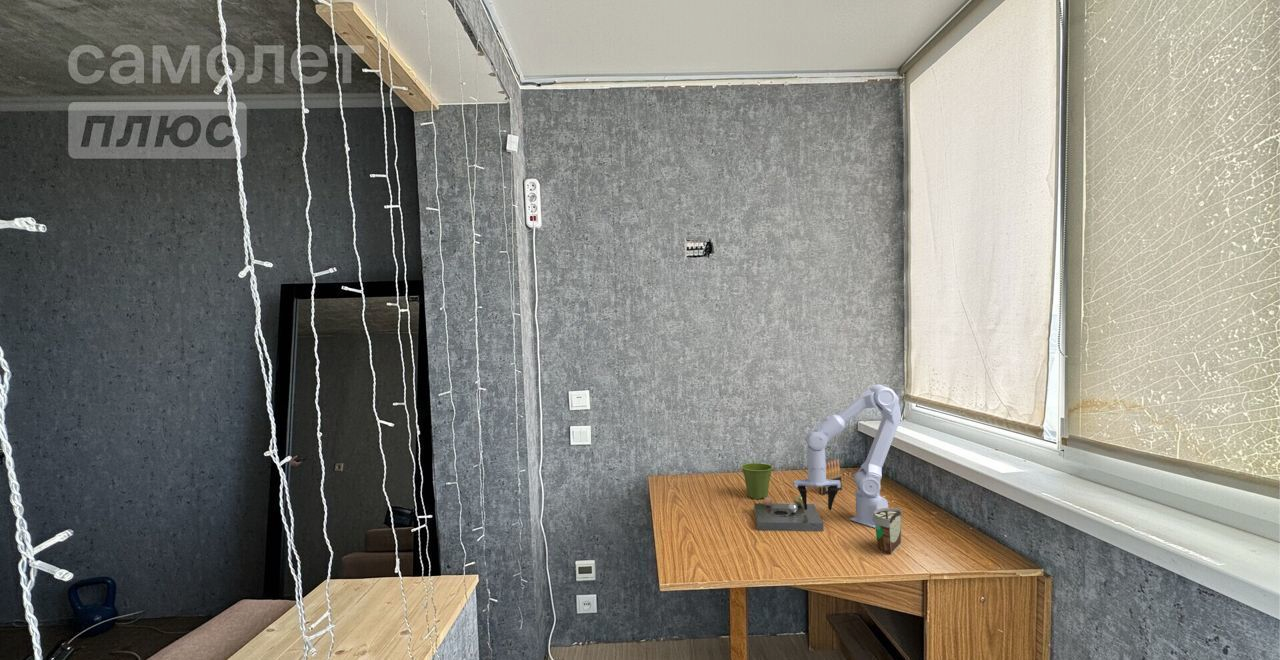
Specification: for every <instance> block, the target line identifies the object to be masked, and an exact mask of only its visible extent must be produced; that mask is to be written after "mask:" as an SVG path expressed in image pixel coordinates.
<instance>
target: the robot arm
mask: <svg viewBox="0 0 1280 660" xmlns="http://www.w3.org/2000/svg"><path fill="white" fill-rule="evenodd" d="M899 400H900V398H899V397H898V395H897V393H896V392H895V391H894V390H893V389H892V388H890V387H886V386H884V385H883V384H874V385H872V386H871V387H870V388H869V389H866V390H865V391H863V392H862V393H861V394H860V395H859V396H858V397H856V399H854V400H853V402H851V403H850V404H849V405H848V406H847V407H845V408H844V409H843V410H842V411H841V412H839V414H831V415H830V416H829V415H826V417H825V420H824V421H822V422H821V423H820V424H819V425H818V426H817V425H815V426H814V429H811V430H808V432H806V435H805V438H804V440H805V443H806V444H807V447H806V450H807V451H806V458H807V459H806V460H807V461H806V464H807V468H806V469H807V478H805V479H793V487H794V488H796V489H797V490H798V492H799V494H800V495H801V497H802V500H803V504H804V509H805V510H807V504H808V503H807V501H808V500H807V496H808V495H807V494H808V493H807V492H808V491H807V488H820V487H827V488H828V494H827V498H828V499H827V508H828V510H829V511H832V509H833V504H834V500H835V498H836V496H837V494H838V492H839V491H838V489H837V488H841V483H842V481H841V482H840V481H839V480H828V479H826V464H827V462H826V451H825V448H826V447H827V444H828V442H829V441H831V440H833V439H834V438H835V437H837V435H838V434H840V433H841V432H842V431H843V430H845V426H846V423H847V422H849V421H850V420H851V419H853V418H854V417H856V416H857V415H858V414H860V413H861V412H863V411H864V410H865V409H876V408H877V409H878V410H879V413H880V415H882V417H881V421H880V422H879V425H878V428H877V431H876V433H875V436H874V439H873V442H872V444H871V446H870V449H869V452H868V454H867V457H866V459H865V461H864V462H863V463H862V464H861V465H860V468H859V470H857V471H856V472H855V473H854V475H853V482H854V484H855V486H857V487H856V489H855V493H854V494H855V516H854V517H850V518H849V520H850V521H852V522H855V523H858V524H861V525H864V526H867V527H870V528H874V529H876V528H875V523H874V522H873V520H872V518H873V514H874V512H875V511H876V510H878V509H882V508H889V502H888V499H886V498H885V497H883V496H882V495H881V494H880V491H881V489H882V486H881V485H882V484H881V480H882V478H883V477H882V476H883V474H882V473H883V472H882V471H883V470H882V468H883V466H884V463H885V461H886V459H887V456H888V453H889V450H890V447H891V445H892V442H893V440H894V437H895V436H896V432H897V429H898V427H899V425H900V422H901V419H902V413H901V409H900V404H899V403H900V401H899Z"/></svg>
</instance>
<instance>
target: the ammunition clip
mask: <svg viewBox="0 0 1280 660" xmlns="http://www.w3.org/2000/svg"><path fill="white" fill-rule="evenodd" d="M826 479H828V480H839V481H840V482H841V488H837V489H838V492H840V491H842V490H843V488H842V476H841V468H840V461H839V458H836V459H833V460H832V459H831V460H830V461H829V460H827V462H826ZM839 490H840V491H839ZM819 494H820V495H821V494H822V496H826V495H825V494H827V495H828V488H827V487H819Z"/></svg>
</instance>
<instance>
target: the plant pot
mask: <svg viewBox="0 0 1280 660" xmlns="http://www.w3.org/2000/svg"><path fill="white" fill-rule="evenodd" d="M740 468H741V469H742V474H743V475H744V476H743V477H744V482H745V486H746V492H747V493H746V494H747V497H749V498H750V499H752V500H754V499H756V500H761V499H764V498H765V497H768V495H769V487H770V482H771V475H772V470H773V469H774V466H773V465H772V464H768V463H761V462H750V463H749V462H748V463H744V464H741V466H740Z"/></svg>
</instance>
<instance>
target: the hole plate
mask: <svg viewBox="0 0 1280 660" xmlns="http://www.w3.org/2000/svg"><path fill="white" fill-rule="evenodd" d="M789 504H790V503H772V504H771V505H770V506H766V505H765V504H764V502H763V503H762V502H761V503H758V502H757V503H753V506H754V507H753V509H754V510H753V511H754V516H755V521H756V527H757V531H764V532H765V531H769V532H771V531H772V532H773V531H779V532H780V531H781V532H783V531H784V532H824V531H825V529H824V528H825V527H824V522H823V520H822V517H821V516H820V514H819V511H818V510H817V508H816V506H815V504H814V503H807V510H805V509H804V505H803V506H798V511H797V512H796V513H791V512H790V511H789V510H788V505H789Z"/></svg>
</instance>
